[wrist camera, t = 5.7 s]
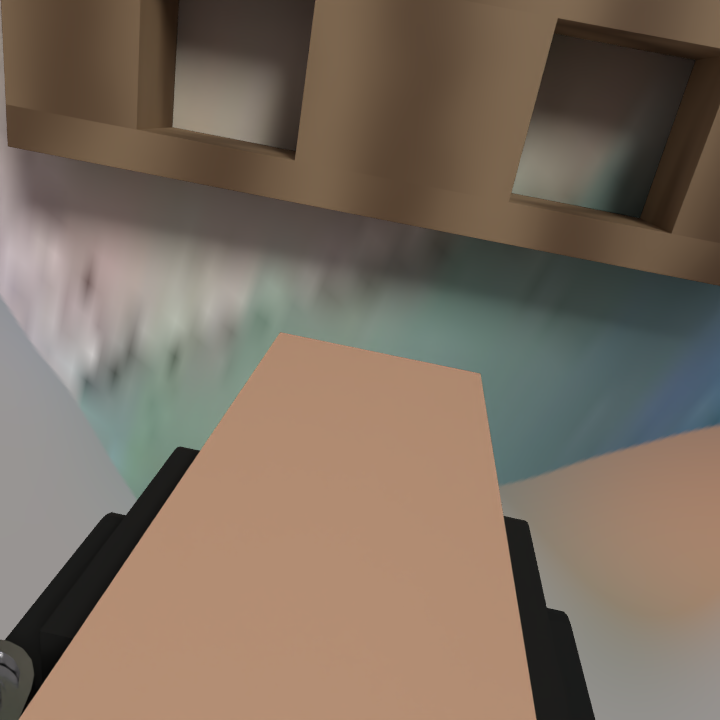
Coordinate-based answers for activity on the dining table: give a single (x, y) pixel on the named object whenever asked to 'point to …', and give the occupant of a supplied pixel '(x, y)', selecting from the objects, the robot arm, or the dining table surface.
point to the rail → (386, 115)
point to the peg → (316, 561)
